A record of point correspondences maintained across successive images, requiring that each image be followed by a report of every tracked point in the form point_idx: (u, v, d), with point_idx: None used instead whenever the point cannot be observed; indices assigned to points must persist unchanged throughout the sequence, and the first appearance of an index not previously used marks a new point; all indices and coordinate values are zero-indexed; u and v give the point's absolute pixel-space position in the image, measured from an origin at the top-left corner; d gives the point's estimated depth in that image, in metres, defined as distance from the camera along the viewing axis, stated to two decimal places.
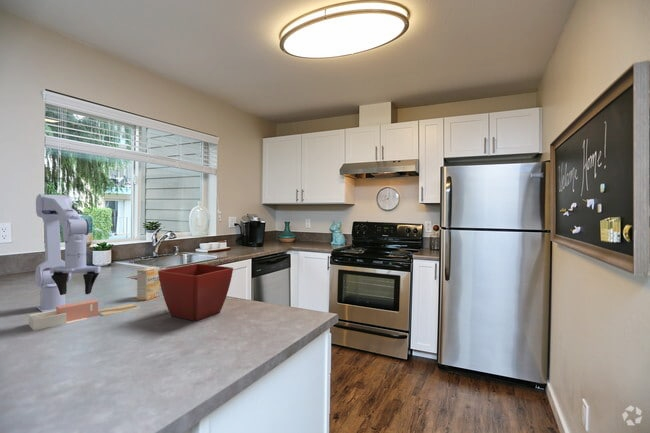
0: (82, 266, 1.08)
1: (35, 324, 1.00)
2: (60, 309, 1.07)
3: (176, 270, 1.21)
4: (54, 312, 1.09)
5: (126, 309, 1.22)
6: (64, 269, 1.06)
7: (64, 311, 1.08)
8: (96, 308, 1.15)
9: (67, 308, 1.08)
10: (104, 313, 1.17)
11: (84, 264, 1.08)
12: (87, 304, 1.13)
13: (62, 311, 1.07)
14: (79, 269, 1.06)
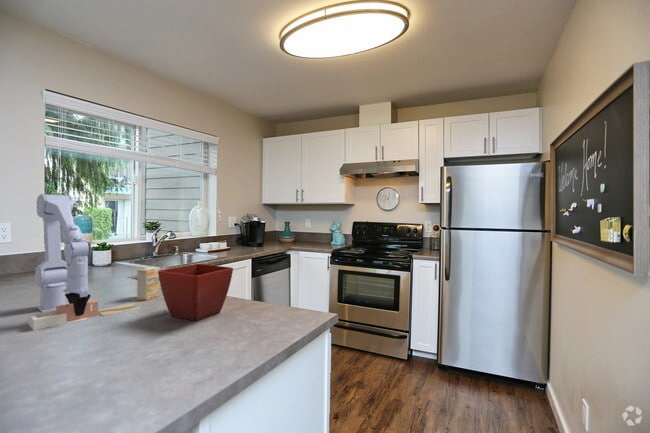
0: (75, 288, 1.09)
1: (35, 324, 1.00)
2: (60, 309, 1.07)
3: (176, 270, 1.21)
4: (54, 312, 1.09)
5: (126, 309, 1.22)
6: None
7: (64, 311, 1.08)
8: (96, 308, 1.15)
9: (67, 308, 1.08)
10: (104, 313, 1.17)
11: (78, 286, 1.10)
12: (87, 304, 1.13)
13: (62, 311, 1.07)
14: (71, 291, 1.09)
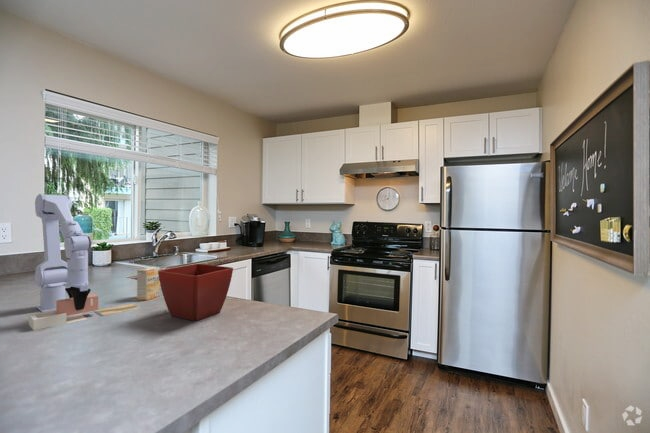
0: (76, 282, 1.09)
1: (35, 324, 1.00)
2: (60, 303, 1.07)
3: (176, 270, 1.21)
4: (54, 312, 1.09)
5: (126, 309, 1.22)
6: None
7: (65, 305, 1.08)
8: (96, 302, 1.15)
9: (67, 302, 1.08)
10: (104, 313, 1.17)
11: (79, 280, 1.10)
12: (87, 298, 1.13)
13: (62, 305, 1.07)
14: (71, 285, 1.09)
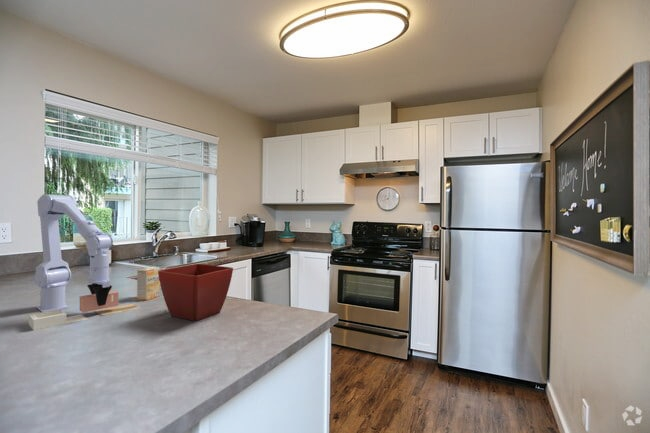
0: (98, 279, 1.15)
1: (35, 324, 1.00)
2: (84, 299, 1.12)
3: (176, 270, 1.21)
4: (54, 312, 1.09)
5: (126, 309, 1.22)
6: None
7: (88, 301, 1.13)
8: (117, 299, 1.20)
9: (90, 298, 1.14)
10: (104, 313, 1.17)
11: (101, 277, 1.15)
12: (108, 295, 1.18)
13: (85, 301, 1.12)
14: (94, 282, 1.14)
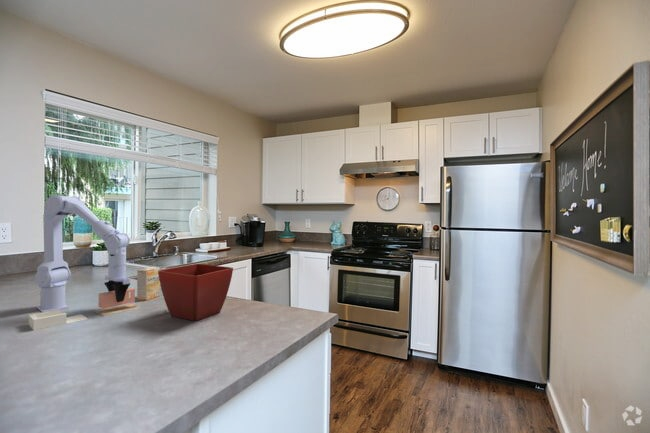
0: (117, 277, 1.20)
1: (35, 324, 1.00)
2: (104, 296, 1.17)
3: (176, 270, 1.21)
4: (54, 312, 1.09)
5: (126, 309, 1.22)
6: (107, 278, 1.21)
7: (108, 298, 1.18)
8: (133, 295, 1.25)
9: (110, 295, 1.18)
10: (104, 313, 1.17)
11: (120, 275, 1.20)
12: (126, 291, 1.23)
13: (106, 297, 1.17)
14: (113, 279, 1.19)
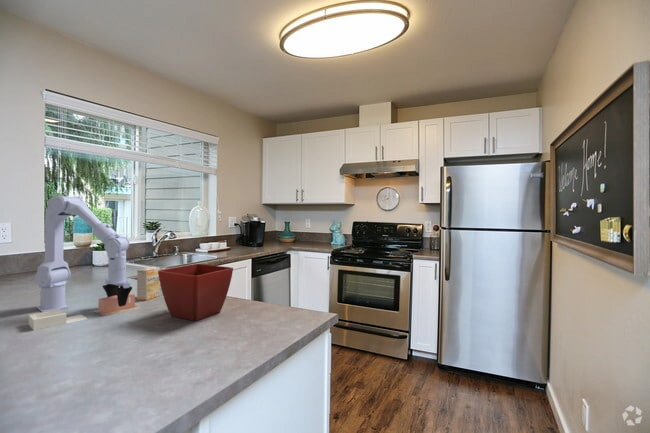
0: (117, 280, 1.20)
1: (35, 324, 1.00)
2: (104, 301, 1.17)
3: (176, 270, 1.21)
4: (54, 312, 1.09)
5: (126, 309, 1.22)
6: None
7: (108, 303, 1.18)
8: (133, 300, 1.25)
9: (110, 300, 1.18)
10: None
11: (120, 279, 1.20)
12: None
13: (106, 303, 1.17)
14: (113, 283, 1.19)
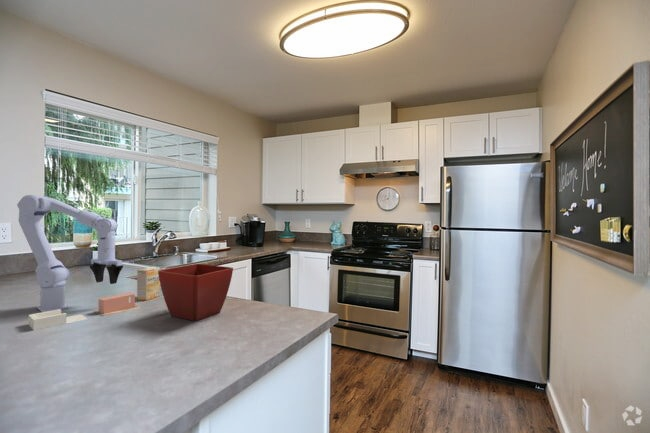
0: (108, 259, 1.25)
1: (35, 324, 1.00)
2: (104, 301, 1.17)
3: (176, 270, 1.21)
4: (54, 312, 1.09)
5: (126, 309, 1.22)
6: (96, 261, 1.25)
7: (108, 303, 1.18)
8: (133, 300, 1.25)
9: (110, 300, 1.18)
10: None
11: (110, 257, 1.25)
12: (126, 296, 1.23)
13: (106, 303, 1.17)
14: (104, 262, 1.23)
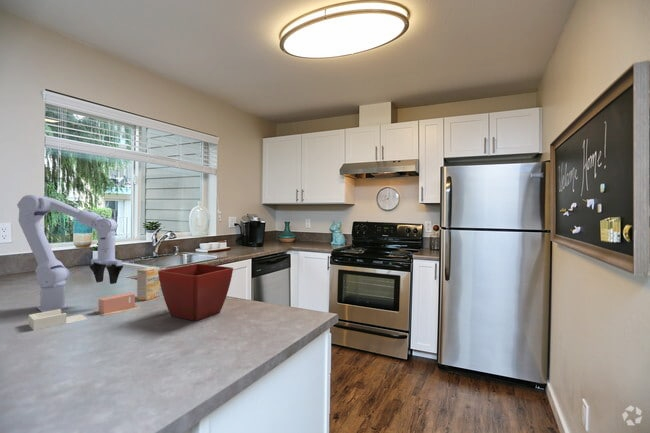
0: (108, 259, 1.25)
1: (35, 324, 1.00)
2: (104, 301, 1.17)
3: (176, 270, 1.21)
4: (54, 312, 1.09)
5: (126, 309, 1.22)
6: (96, 261, 1.25)
7: (108, 303, 1.18)
8: (133, 300, 1.25)
9: (110, 300, 1.18)
10: None
11: (110, 257, 1.25)
12: (126, 296, 1.23)
13: (106, 303, 1.17)
14: (104, 261, 1.23)
